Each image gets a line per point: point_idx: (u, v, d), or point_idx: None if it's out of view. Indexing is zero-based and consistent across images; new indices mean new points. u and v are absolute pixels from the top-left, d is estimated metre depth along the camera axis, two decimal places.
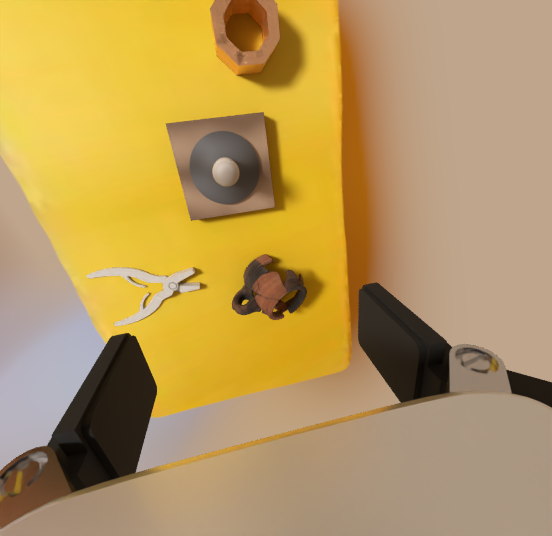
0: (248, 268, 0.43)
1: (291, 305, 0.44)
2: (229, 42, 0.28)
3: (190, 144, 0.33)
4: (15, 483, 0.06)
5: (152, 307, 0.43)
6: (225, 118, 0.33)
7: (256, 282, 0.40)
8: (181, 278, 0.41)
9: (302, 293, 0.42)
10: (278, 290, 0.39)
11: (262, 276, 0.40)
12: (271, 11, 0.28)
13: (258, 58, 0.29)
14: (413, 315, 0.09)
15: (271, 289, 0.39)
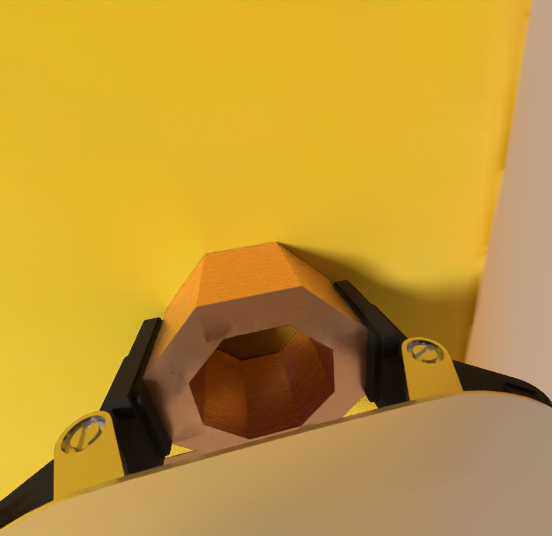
0: None
1: None
2: (212, 431, 0.09)
3: None
4: (80, 440, 0.06)
5: None
6: None
7: None
8: None
9: None
10: None
11: None
12: (348, 347, 0.09)
13: None
14: (374, 310, 0.09)
15: None
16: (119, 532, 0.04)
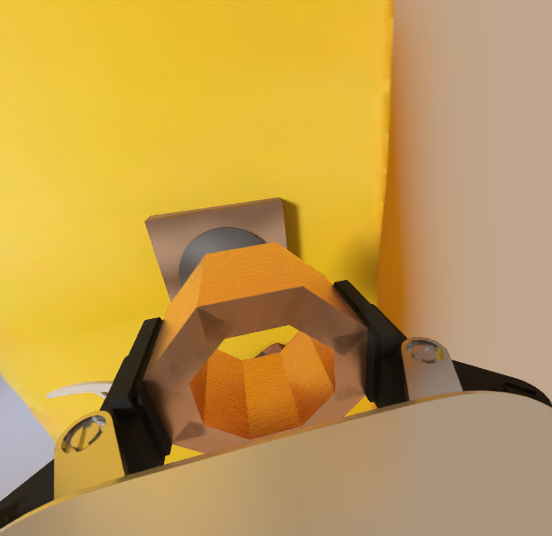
0: None
1: None
2: (213, 431, 0.09)
3: (179, 245, 0.24)
4: (80, 440, 0.06)
5: None
6: (229, 211, 0.23)
7: None
8: None
9: None
10: None
11: None
12: (349, 348, 0.09)
13: None
14: (374, 310, 0.09)
15: None
16: (119, 532, 0.04)
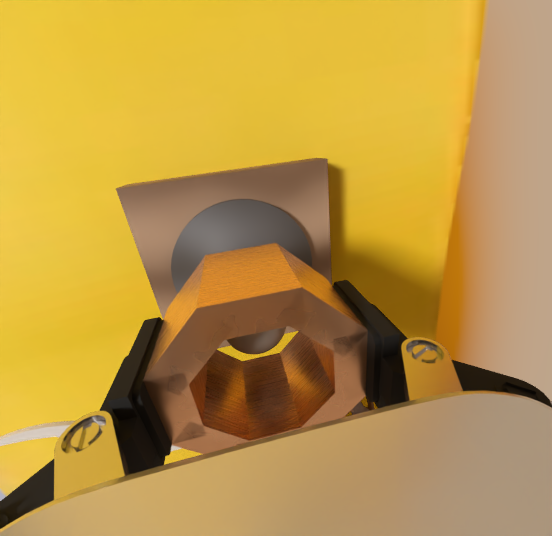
0: None
1: None
2: (213, 432, 0.09)
3: (171, 226, 0.16)
4: (80, 440, 0.06)
5: None
6: (247, 173, 0.15)
7: None
8: None
9: None
10: None
11: None
12: (349, 349, 0.09)
13: None
14: (374, 310, 0.09)
15: None
16: (119, 532, 0.04)
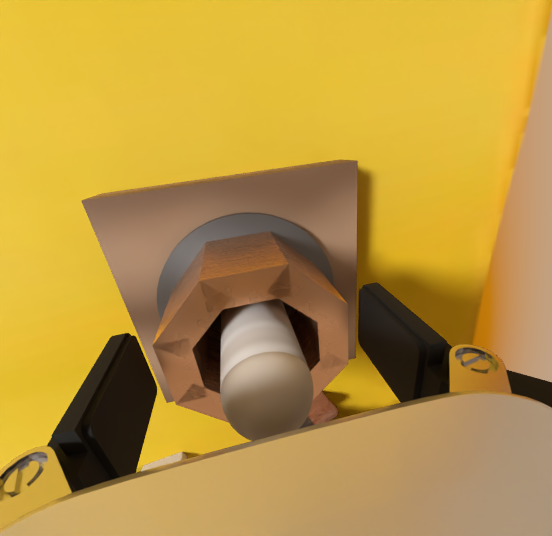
0: None
1: None
2: (213, 394, 0.10)
3: (157, 248, 0.12)
4: (15, 483, 0.06)
5: None
6: (254, 180, 0.12)
7: None
8: None
9: None
10: None
11: None
12: (331, 320, 0.10)
13: None
14: (413, 315, 0.09)
15: None
16: (119, 532, 0.04)
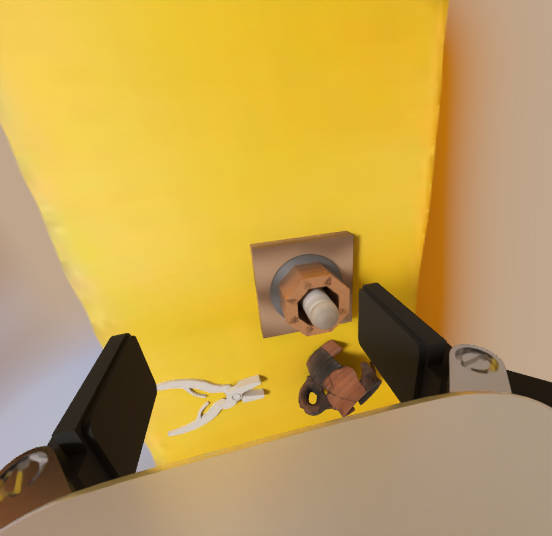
0: (314, 357, 0.38)
1: None
2: (300, 321, 0.29)
3: (274, 267, 0.31)
4: (15, 483, 0.06)
5: (210, 416, 0.39)
6: (314, 242, 0.30)
7: (328, 379, 0.35)
8: (246, 389, 0.38)
9: (376, 385, 0.37)
10: (356, 390, 0.34)
11: (335, 372, 0.35)
12: (343, 295, 0.28)
13: None
14: (413, 315, 0.09)
15: (348, 388, 0.34)
16: (119, 532, 0.04)
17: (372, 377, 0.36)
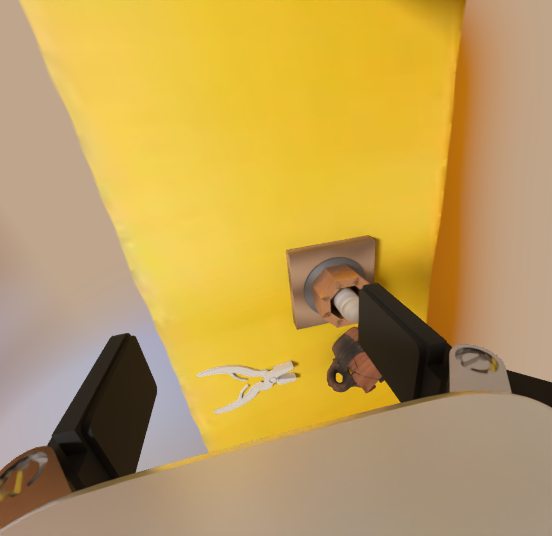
0: (339, 342, 0.43)
1: None
2: (332, 315, 0.34)
3: (307, 269, 0.36)
4: (15, 483, 0.06)
5: (250, 396, 0.45)
6: (341, 247, 0.35)
7: (353, 360, 0.41)
8: (281, 373, 0.43)
9: None
10: None
11: (359, 355, 0.40)
12: None
13: None
14: (413, 315, 0.09)
15: (370, 368, 0.40)
16: (119, 532, 0.04)
17: None
